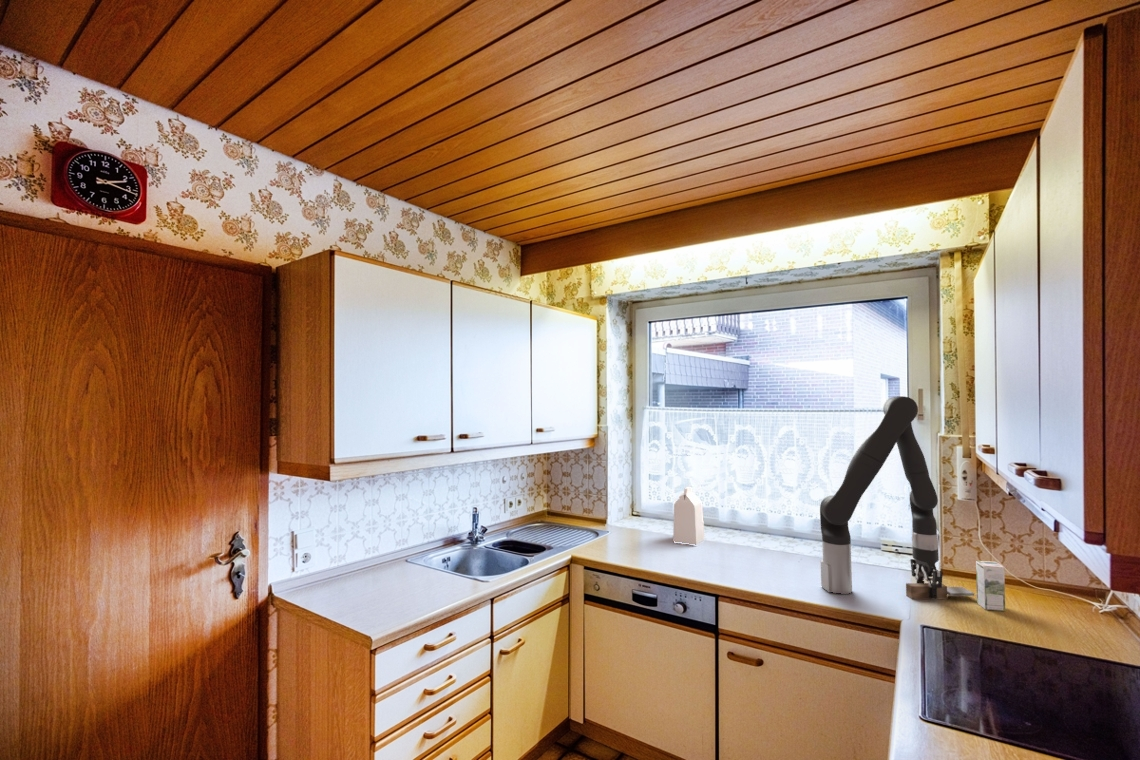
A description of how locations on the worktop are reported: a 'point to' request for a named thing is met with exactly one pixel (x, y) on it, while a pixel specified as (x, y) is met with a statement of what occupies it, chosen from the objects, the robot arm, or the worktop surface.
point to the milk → (688, 518)
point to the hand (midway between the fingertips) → (926, 594)
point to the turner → (923, 591)
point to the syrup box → (990, 585)
